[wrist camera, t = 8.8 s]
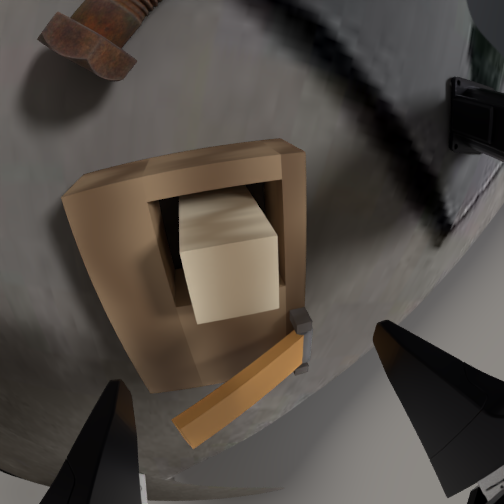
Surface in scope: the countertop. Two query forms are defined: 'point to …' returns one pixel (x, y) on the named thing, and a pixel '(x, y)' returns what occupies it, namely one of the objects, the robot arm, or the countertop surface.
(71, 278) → the countertop surface
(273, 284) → the peg
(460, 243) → the countertop surface
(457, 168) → the countertop surface
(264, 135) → the countertop surface
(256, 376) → the gate
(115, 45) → the bolt
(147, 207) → the block
